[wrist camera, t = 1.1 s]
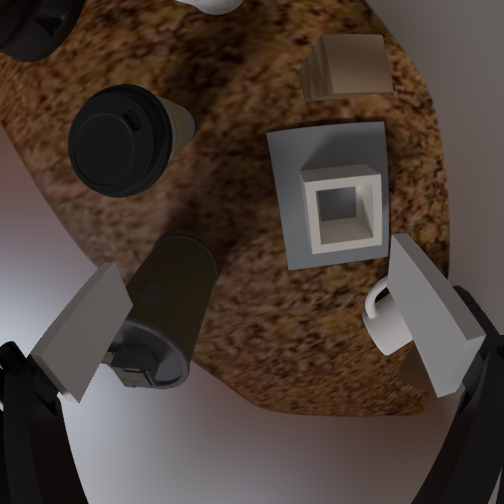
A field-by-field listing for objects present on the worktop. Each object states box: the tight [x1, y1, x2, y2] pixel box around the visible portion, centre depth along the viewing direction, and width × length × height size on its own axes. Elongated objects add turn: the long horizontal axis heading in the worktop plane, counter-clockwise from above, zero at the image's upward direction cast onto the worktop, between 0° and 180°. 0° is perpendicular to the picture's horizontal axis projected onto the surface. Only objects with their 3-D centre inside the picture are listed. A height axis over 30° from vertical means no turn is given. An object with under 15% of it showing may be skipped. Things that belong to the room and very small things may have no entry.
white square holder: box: [299, 164, 382, 254], centre depth 31 cm, size 8×8×6 cm
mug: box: [362, 276, 413, 355], centre depth 36 cm, size 12×10×8 cm
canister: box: [100, 235, 218, 389], centre depth 31 cm, size 11×10×20 cm
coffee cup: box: [68, 84, 195, 198], centre depth 24 cm, size 9×9×15 cm
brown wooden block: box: [299, 34, 393, 102], centre depth 21 cm, size 4×4×16 cm
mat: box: [266, 121, 389, 270], centre depth 34 cm, size 18×14×1 cm
